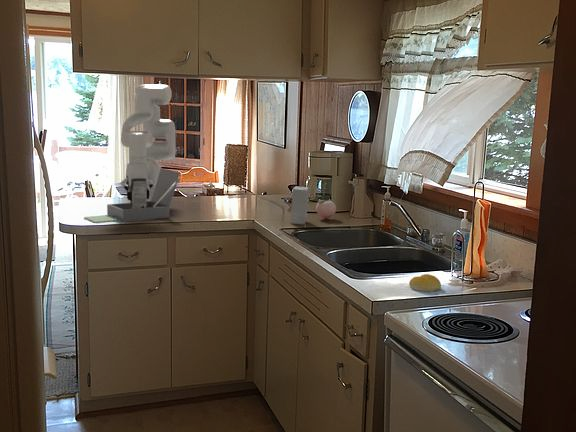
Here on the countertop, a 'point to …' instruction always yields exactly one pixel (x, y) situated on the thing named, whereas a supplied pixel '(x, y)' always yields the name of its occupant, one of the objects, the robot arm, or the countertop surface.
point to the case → (154, 207)
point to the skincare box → (299, 205)
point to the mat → (100, 219)
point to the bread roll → (425, 283)
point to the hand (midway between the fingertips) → (138, 199)
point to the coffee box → (139, 194)
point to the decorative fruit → (326, 208)
